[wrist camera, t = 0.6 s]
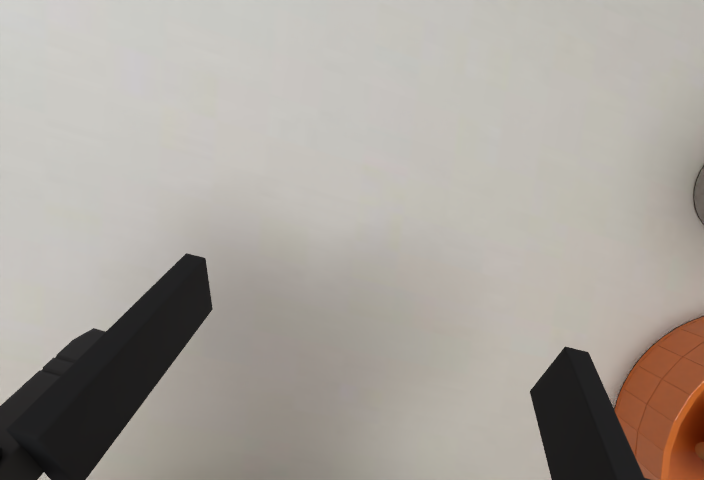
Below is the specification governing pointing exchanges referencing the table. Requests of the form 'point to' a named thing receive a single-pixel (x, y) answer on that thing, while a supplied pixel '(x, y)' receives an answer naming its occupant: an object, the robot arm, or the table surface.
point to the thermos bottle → (700, 195)
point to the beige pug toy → (700, 450)
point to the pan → (667, 405)
